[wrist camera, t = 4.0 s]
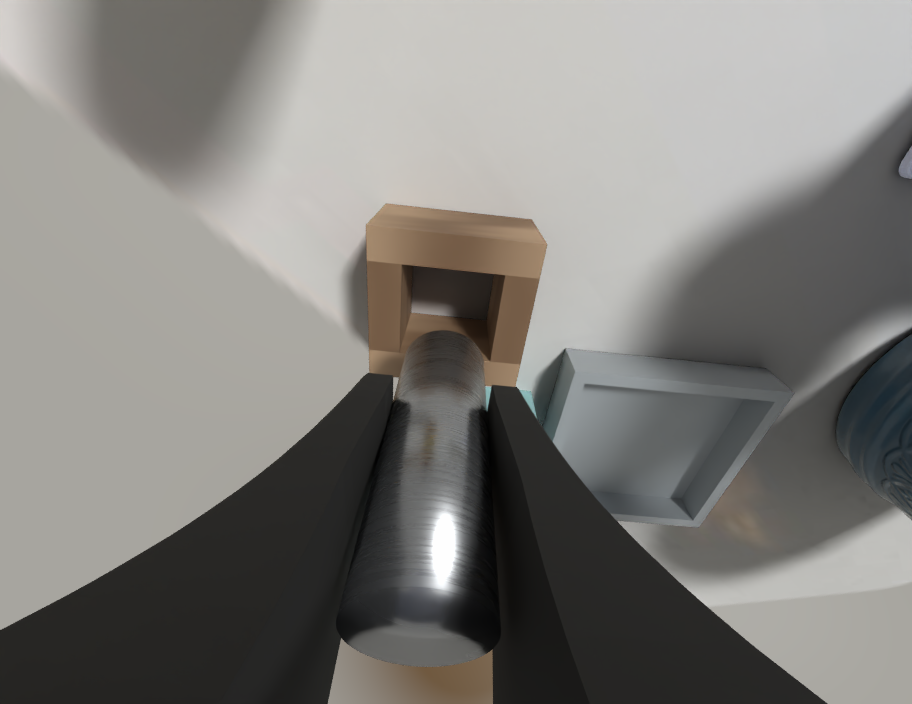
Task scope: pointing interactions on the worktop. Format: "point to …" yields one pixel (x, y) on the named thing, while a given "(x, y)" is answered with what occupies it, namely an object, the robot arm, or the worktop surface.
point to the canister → (882, 427)
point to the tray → (659, 430)
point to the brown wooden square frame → (457, 248)
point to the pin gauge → (428, 519)
